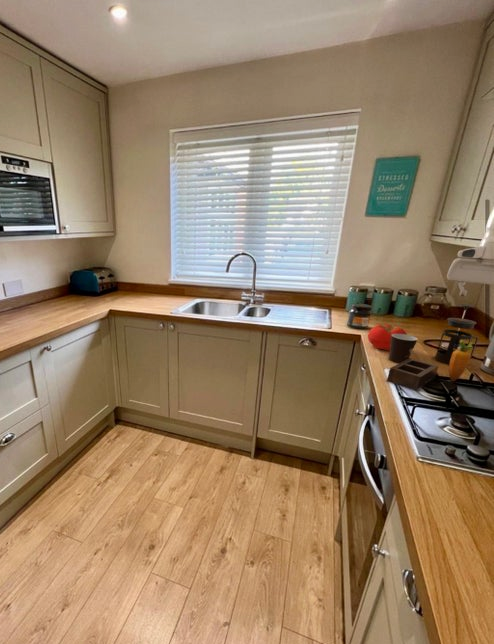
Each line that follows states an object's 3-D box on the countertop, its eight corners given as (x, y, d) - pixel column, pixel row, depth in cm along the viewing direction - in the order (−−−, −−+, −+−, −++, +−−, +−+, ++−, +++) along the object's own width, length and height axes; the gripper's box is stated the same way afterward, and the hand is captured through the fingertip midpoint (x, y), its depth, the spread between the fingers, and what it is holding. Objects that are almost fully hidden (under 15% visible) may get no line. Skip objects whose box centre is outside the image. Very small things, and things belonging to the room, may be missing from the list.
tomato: (407, 348, 147) (413, 326, 144) (397, 356, 136) (403, 333, 133) (373, 340, 157) (377, 320, 153) (360, 347, 146) (365, 326, 142)
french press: (429, 359, 134) (446, 303, 126) (435, 354, 140) (452, 301, 132) (465, 368, 126) (486, 309, 118) (470, 363, 132) (491, 306, 124)
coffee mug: (398, 365, 127) (405, 341, 124) (380, 357, 135) (386, 334, 131) (421, 363, 130) (429, 339, 127) (402, 355, 138) (408, 332, 135)
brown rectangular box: (434, 378, 116) (438, 365, 114) (416, 391, 107) (420, 377, 105) (406, 370, 123) (409, 358, 121) (386, 381, 113) (390, 367, 112)
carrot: (460, 380, 115) (474, 340, 110) (462, 386, 111) (477, 344, 106) (442, 377, 118) (455, 337, 112) (444, 382, 114) (458, 341, 108)
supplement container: (367, 330, 172) (372, 308, 168) (345, 327, 177) (349, 305, 173) (368, 326, 180) (373, 304, 176) (347, 323, 185) (351, 302, 181)
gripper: (547, 255, 94) (528, 303, 98) (458, 250, 109) (446, 292, 114) (543, 255, 90) (523, 305, 95) (452, 251, 105) (439, 294, 110)
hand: (480, 298), depth 104 cm, fingers open, 8 cm apart
